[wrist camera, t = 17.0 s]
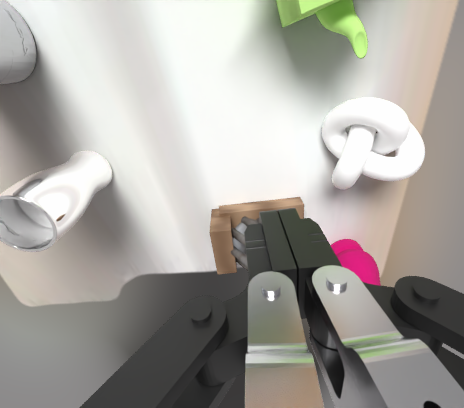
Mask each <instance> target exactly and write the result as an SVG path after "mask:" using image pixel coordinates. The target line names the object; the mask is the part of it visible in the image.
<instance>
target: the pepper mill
mask: <svg viewBox="0 0 464 408" xmlns="http://www.w3.org/2000/svg"><path fill="white" fill-rule="evenodd" d="M331 247H332V249H333V251H334V253H335V254H336V256H337V258H338V260H339V261H340V263H341V265H342V267H344V268H347V269H349V270H351V271H352V272H354V273H355V274H356V275H357V276H358V277H359V278H360V280H361V281H362V282H365V283H368V284H373V285H380V278H379V270H378V267H377V264H376V262H375V261H374V259H373V258H372V256H371V255H370V254H368V253H366V252H364V251H363V249H362V248H361V246H360V245H359V244H358V243H357V242H356V241H354V240H351V239H343V240H339V241H337V242H335V243H333V244H332V245H331ZM380 286H381V285H380Z"/></svg>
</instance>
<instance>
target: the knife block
mask: <svg viewBox="0 0 464 408" xmlns="http://www.w3.org/2000/svg"><path fill="white" fill-rule="evenodd" d="M288 208H295V209H296V210H297V213H298V215H299V217H300V219H304V204H303V202H302V200H301V198H300V197H296V198H287V199H278V200H269V201H260V202H251V203H242V204H233V205H224V206H219V209H212V214H211V224H210V237H211V242H212V247H213V252H214V257H215V263H216V268H217V273H218V274H226V273H236V272H237V266H236V262H238V263H239V264H240V265H241V266H242V267H244V268H245V269H246V270H247V271H248V264H247V254H246V245H245V236H244V232H245V230H246V228H247V226H248V225H250V224H259V223H260V220H259V212H261V211H270V210H279V209H288Z"/></svg>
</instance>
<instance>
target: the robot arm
mask: <svg viewBox="0 0 464 408" xmlns="http://www.w3.org/2000/svg"><path fill="white" fill-rule="evenodd" d="M36 54H37V53H36V46H35V42H34V39H33V36H32V33H31V31H30V29H29V27H28V25H27V24H26V22H25V21H24V20H23V18H22V17H21V15H20V14H19V13H18V12H17V11H16V10H15V9H14V8H13V7H12V6H11V5H10V4H9V3H7V2H6V1H5V0H0V84H8V83H17V82H20V81H22V80H25V79H26V78H27V77H28V76H30V74H31V73H32V71H33V70H34V67H35V64H36ZM259 220H260V223H259V224H250V225H248V226H247V228H246V230H245V232H244V236H245V245H246V254H247V264H248V273H249V282H248V285H247V287H246V289H245V290H244V291H243V292H242V293H241V294H240V295H238V296H236V297H234V298H232V299H230V300H227V301H225V302H222V301H220V300H219V299H218V298H216V297H214V296H208V295H204V296H199V297H196V298H193V299H191V300H189V301H188V302H187V303H185V304H184V305H183V306H182V307H181V308H180V309H179V310H178V311H177V312H176V313H175V314H174V315H173V316H172V317H171V318H170V319H169V320H168V321H167V322H166V323H165V324H164V325H163V326H162V327H161V328H160V329H159V330H158V331H157V332H156V333H155V334H154V335H153V336H152V337H151V338H150V339H149V340H148V341H147V342H146V343H145V344H144V345H143V346H142V347H141V348H140V349H139V350H138V351H137V352H136V353H135V354H134V355H133V356H131V357H130V358H129V359H128V361H126V362H125V363H124V364H123V365H122V366H121V367H120V368H119V369H118V371H116V372H115V373H114V374H113V375H112V376H111V377H110V378H109V379H108V380H107V381H106V382H105V383H104V384H103V385H102V386H101V387H100V388H99V389H98V390H97V391H96V392H95V393H94V394H93V395H92V396H91V397H90V398H89V399H88V400H87V401H86V402H85V403H84V404H83V405H82V406H81V407H80V408H217V407H218V405H219V404H220V402H221V401H222V399H223V398H224V396H225V395H226V393H227V392H228V390H229V389H230V387H231V385H232V384H233V382H234V380H235V377H236V376H238V375H241V374H243V373H245V408H324V405H323V400H322V395H321V391H320V386H319V382H318V377H317V373H316V369H315V364H314V360H313V357H312V354H311V352H310V351H308V349H307V345H306V341H305V336H304V331H303V326H302V321H301V319H303V318H307V321H308V324H309V327H310V330H309V338H310V342H311V345H312V348H313V350H314V353H315V355H316V358H317V361H318V363H319V366H320V368H321V371H322V374H323V376H324V379H325V381H326V384H327V387H328V389H329V391H330V394H331V397H332V400H333V403H334V406H335V408H464V359H462V358H460V357H459V356H457V355H455V354H454V353H452V352H450V351H448V350H447V349H445V348H443V347H442V344H443V343H444V344H446V345H448V346H450V347H451V348H453V349H455V350H457V351H458V352H460V353H462V354H464V294H462V293H460V292H458V291H456V290H453V289H451V288H449V287H447V286H444V285H442V284H440V283H437V282H435V281H433V280H430V279H427V278H424V277H417V276H407V277H403V278H401V279H399V280H398V281H397V282H396V284H395V287H394V288H393V287H386V286H380V285H373V284H368V283H365V282H362V281H361V280H360V278H359V277H358V276H357V275H356V274H355V273H354V272H352V271H351V270H349V269H347V268H344V267H342V265H341V263H340V261H339V260H338V258H337V256H336V254H335V253H334V251H333V249H332V247H331V246H330V244H329V242H328V241H327V239H326V237H325V235H324V234H323V232H322V230H321V228H320V227H319V225H318V224H317V223H316V222H314V221H313V220H311V219H310V218H305V219H300V217H299V215H298V213H297V210H296V209H295V208H288V209H279V210H270V211H261V212H259Z"/></svg>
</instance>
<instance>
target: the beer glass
mask: <svg viewBox="0 0 464 408" xmlns="http://www.w3.org/2000/svg"><path fill="white" fill-rule="evenodd" d="M111 179H112V168H111V166H110V164H109V162H108V161H107V160H106V159H105V158H104V157H103V156H102V155H100V154H98V153H96V152H94V151H89V150H83V151H79V152H77V153H75V154H74V155H73V156H72V157H71V158H70V159H69V160H68V161H67V162H66V163H65V164H62V165H59V166H56V167H52V168H49V169H45V170H42V171H39V172H37V173H34V174H32V175H30V176H28V177H26V178H24V179H22V180H20V181H19V182H17V183H15V184H14V185H12V186H11V187H9V188H8V189H6V190H5V191H4V192H2V193H1V194H0V241H2V242H3V243H5V244H6V245H8V246H10V247H13V248H15V249H18V250H22V251H28V252H38V251H43V250H45V249H48V248H49V247H51V246H52V245H53V244H54V243H55V242H56V241H57V240H58V239H59V238H61V237H62V236H63V235H64V234H65V233H66V232H68V231H69V230H70V229H71V228H72V227H73V226H74V225H75V224H76V223H77V221H78V220H79V219H80V218H81V217H82V215H83V214H84V212H85V211H86V209H87V207H88V205H89V204H90V202H91V200H92V198H93V196H94V195H95V193H96V192H97V191H99V190H101V189H102V188H104V187H106V186H107V185H108V184H109V183H110V181H111Z"/></svg>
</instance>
